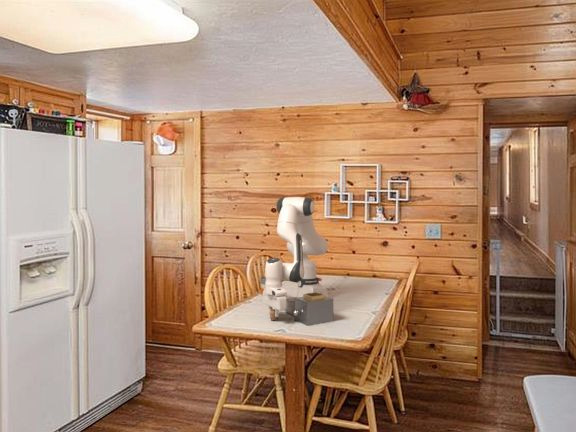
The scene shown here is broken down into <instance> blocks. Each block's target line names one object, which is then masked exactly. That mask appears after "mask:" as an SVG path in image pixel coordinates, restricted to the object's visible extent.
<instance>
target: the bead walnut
mask: <svg viewBox="0 0 576 432" xmlns="http://www.w3.org/2000/svg"><path fill="white" fill-rule="evenodd" d="M274 313H275V308H273V309H272V310H270V313H269V315H270V317H269V319H270V320H272V321H273V320H274V321H276V320H278V319H279V318H278V317H279V316H278V317H275V316H274Z"/></svg>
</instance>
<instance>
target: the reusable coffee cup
mask: <svg viewBox="0 0 576 432" xmlns="http://www.w3.org/2000/svg"><path fill="white" fill-rule="evenodd" d="M265 282H266V277H265V275H264V276H261V277H260V278H259V283H260V288H259V289H260V295H261V297H262V296H263V291H264V288H265Z"/></svg>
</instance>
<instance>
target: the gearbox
mask: <svg viewBox="0 0 576 432" xmlns="http://www.w3.org/2000/svg"><path fill="white" fill-rule="evenodd" d="M330 297H331V296H330ZM330 297H327V296H325V295H323V294H320V293H317V292H314V293H306V294H303V297H298V298H295V311H293V314H292V315H293V316H294V321H296V322H297V323H300V324H302V325H305V326H307V327H308V326H313V325H314V324H315V325H319V324H320V323H321V324H325V323H326V322H327V323H331V322H334V298H330Z"/></svg>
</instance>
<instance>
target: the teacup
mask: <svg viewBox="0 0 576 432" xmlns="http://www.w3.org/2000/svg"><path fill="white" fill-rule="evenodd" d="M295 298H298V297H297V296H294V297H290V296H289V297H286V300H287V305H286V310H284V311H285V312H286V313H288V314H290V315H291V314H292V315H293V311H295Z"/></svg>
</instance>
